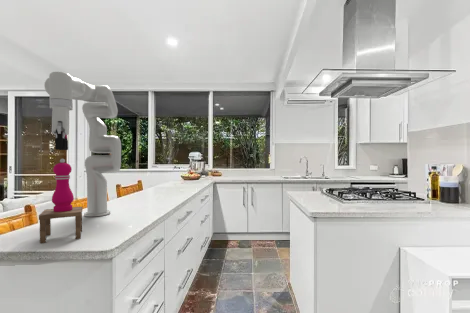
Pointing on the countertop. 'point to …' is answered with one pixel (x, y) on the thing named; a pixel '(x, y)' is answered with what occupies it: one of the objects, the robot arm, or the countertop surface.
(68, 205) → the pepper mill
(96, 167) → the robot arm
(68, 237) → the countertop surface
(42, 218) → the walnut stool
